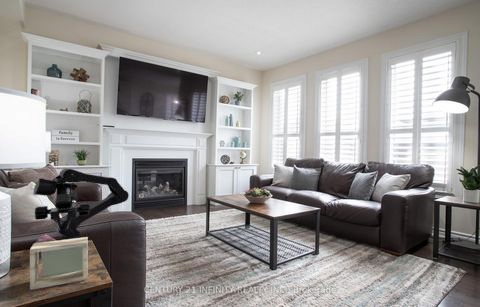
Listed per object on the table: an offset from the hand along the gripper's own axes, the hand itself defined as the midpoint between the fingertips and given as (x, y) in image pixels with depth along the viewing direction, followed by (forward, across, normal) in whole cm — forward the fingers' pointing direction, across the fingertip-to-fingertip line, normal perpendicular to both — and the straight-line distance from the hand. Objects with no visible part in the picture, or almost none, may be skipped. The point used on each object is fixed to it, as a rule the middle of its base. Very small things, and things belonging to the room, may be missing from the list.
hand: (63, 230), depth 106 cm
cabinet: (+21, 0, -4) cm, 21 cm away
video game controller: (-4, -6, +24) cm, 25 cm away
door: (+17, 0, -1) cm, 17 cm away
